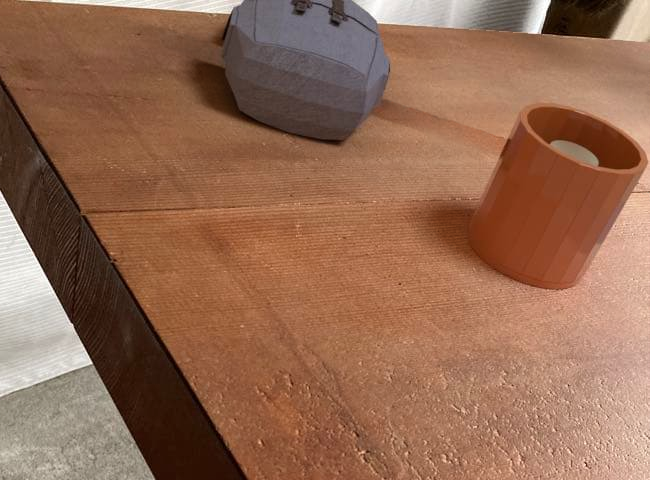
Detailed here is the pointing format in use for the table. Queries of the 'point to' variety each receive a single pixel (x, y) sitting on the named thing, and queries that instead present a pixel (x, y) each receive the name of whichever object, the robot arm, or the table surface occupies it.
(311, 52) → the small grey backpack
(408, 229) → the table surface
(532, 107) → the orange cup
